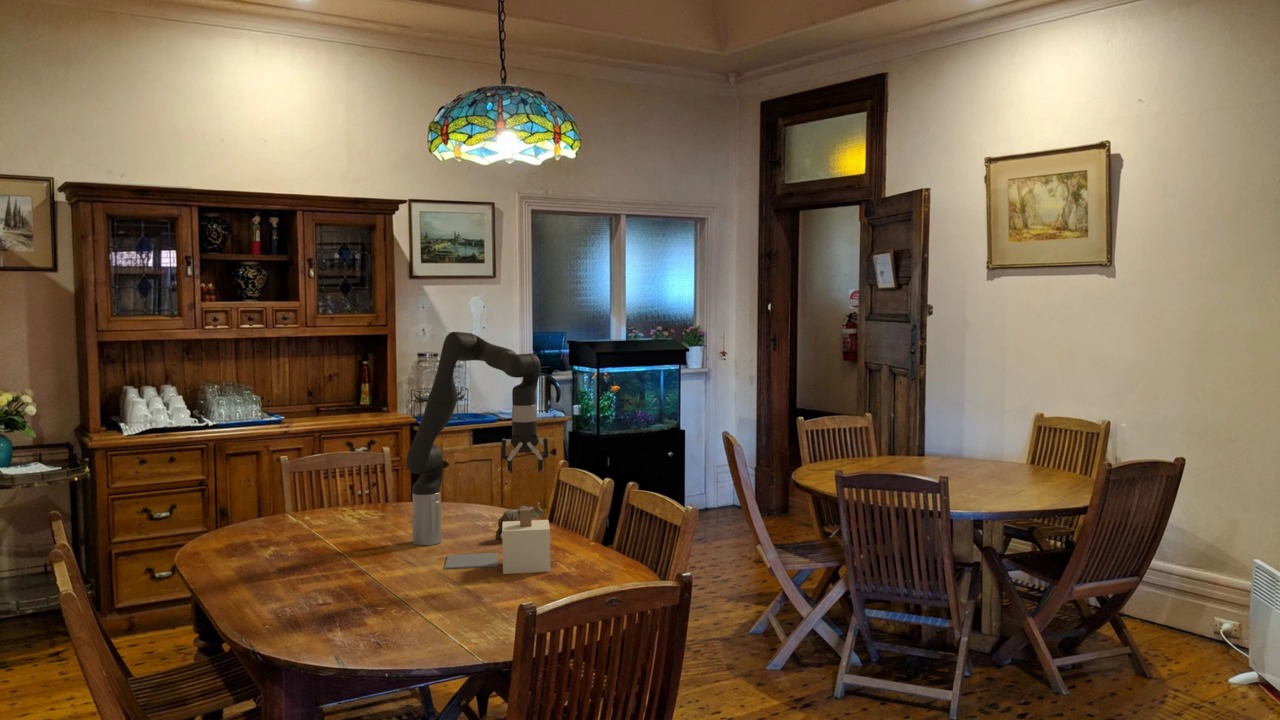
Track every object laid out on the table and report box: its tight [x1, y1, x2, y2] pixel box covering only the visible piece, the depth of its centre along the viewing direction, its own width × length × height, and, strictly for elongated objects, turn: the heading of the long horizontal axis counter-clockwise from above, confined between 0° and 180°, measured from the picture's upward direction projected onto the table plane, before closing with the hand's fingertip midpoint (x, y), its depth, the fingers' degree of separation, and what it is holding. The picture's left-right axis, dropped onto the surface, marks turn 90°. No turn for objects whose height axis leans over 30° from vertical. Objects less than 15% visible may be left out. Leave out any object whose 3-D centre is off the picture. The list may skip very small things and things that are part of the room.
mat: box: [444, 552, 499, 570], centre depth 298 cm, size 16×14×1 cm
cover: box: [501, 507, 552, 575], centre depth 291 cm, size 14×12×18 cm
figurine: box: [495, 501, 544, 540], centre depth 325 cm, size 10×14×15 cm, turn 88°
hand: (525, 472), depth 289 cm, fingers open, 8 cm apart
